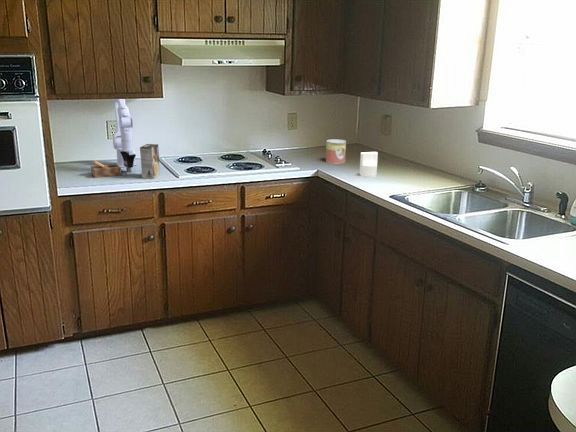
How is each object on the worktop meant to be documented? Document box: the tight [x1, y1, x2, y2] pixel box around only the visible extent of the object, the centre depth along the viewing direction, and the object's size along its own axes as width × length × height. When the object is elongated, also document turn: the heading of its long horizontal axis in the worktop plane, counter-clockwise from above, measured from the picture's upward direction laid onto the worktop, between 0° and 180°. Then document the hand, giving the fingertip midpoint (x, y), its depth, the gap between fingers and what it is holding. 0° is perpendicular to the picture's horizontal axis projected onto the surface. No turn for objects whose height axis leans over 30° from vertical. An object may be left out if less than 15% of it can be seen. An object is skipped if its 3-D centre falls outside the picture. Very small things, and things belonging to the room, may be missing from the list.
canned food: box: [325, 138, 347, 165], centre depth 343 cm, size 11×11×12 cm
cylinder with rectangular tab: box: [359, 151, 379, 178], centre depth 313 cm, size 9×9×12 cm
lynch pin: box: [123, 161, 132, 173], centre depth 312 cm, size 5×5×6 cm
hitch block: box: [90, 163, 122, 179], centre depth 306 cm, size 13×10×4 cm
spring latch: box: [93, 159, 105, 167], centre depth 303 cm, size 5×4×1 cm
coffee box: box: [139, 143, 161, 180], centre depth 301 cm, size 9×6×16 cm
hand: (128, 166), depth 312 cm, fingers open, 7 cm apart
